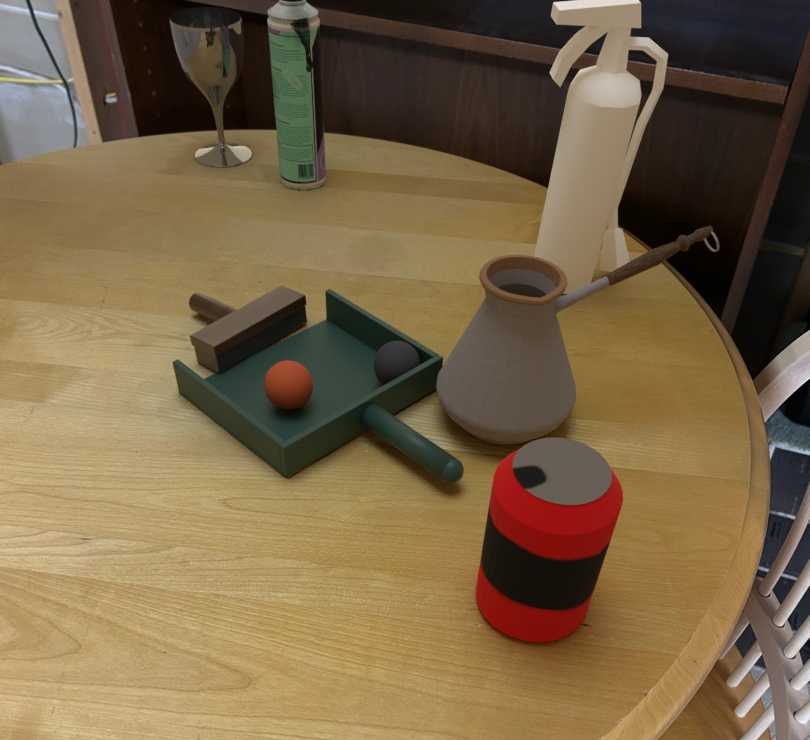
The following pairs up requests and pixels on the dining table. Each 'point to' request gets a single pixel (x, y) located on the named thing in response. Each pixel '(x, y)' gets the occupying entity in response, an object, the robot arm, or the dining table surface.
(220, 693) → the dining table surface
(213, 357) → the brush
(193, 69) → the wine glass
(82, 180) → the dining table surface
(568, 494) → the soda can
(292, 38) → the spray can
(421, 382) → the dustpan
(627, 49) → the fire extinguisher
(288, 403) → the terracotta ball
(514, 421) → the coffee pot
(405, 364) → the grey ball
